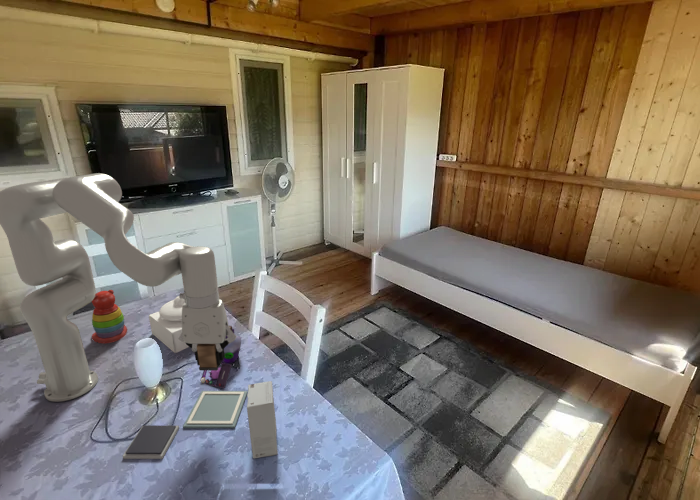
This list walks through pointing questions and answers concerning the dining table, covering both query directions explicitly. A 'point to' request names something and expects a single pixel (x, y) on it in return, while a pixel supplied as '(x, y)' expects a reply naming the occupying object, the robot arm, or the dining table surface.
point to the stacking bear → (107, 318)
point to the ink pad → (151, 442)
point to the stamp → (207, 357)
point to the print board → (216, 409)
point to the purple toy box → (217, 376)
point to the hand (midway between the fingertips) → (210, 361)
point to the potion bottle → (232, 349)
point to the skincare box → (262, 419)
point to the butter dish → (169, 324)
